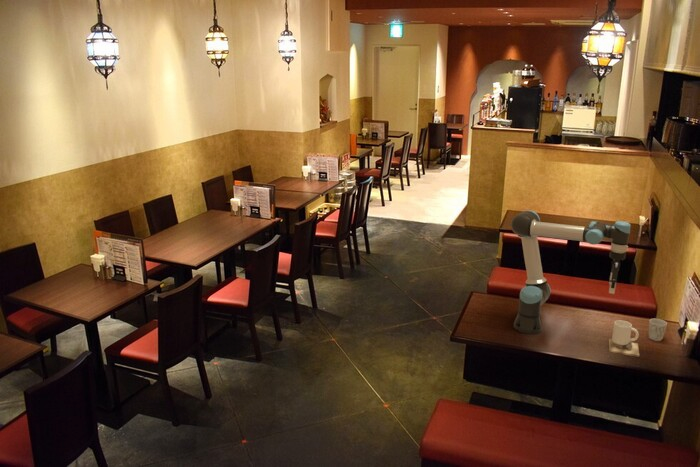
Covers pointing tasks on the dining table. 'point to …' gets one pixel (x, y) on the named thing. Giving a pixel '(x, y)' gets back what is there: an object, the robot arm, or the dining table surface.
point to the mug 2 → (657, 329)
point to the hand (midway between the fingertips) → (611, 288)
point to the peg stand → (624, 348)
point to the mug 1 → (623, 332)
